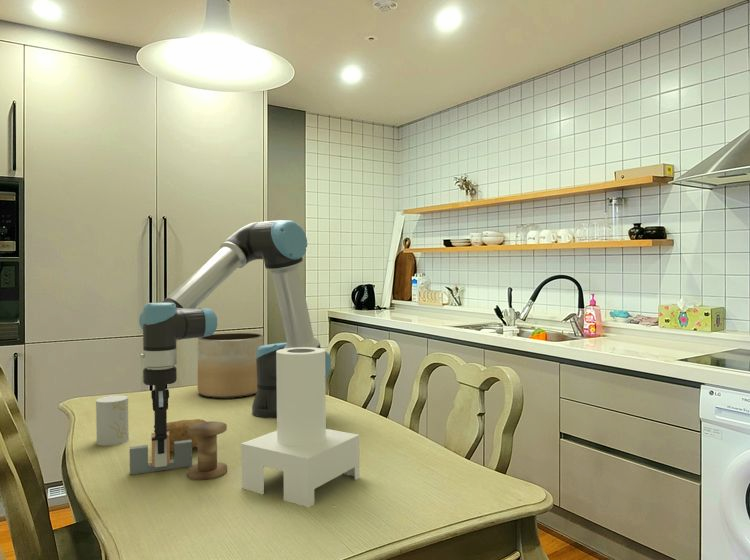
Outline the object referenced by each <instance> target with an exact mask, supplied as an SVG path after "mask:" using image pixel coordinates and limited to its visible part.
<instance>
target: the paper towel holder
mask: <svg viewBox="0 0 750 560" xmlns="http://www.w3.org/2000/svg"><path fill="white" fill-rule="evenodd" d="M325 351H326V349H325V348H323V347H321V348H313V347H296V348H285V349H280V350H277V351H276V375H277V417H276V430H275V431H271V432H268V433H266V434H264V435H261V436H258V437H256V438H253V439H249V440H247V441H245V442H241V444H240V450H241V452H240V453H241V455H240V456H241V459H240V460H241V465H240V466H241V489H242V488H243V489H242V490H245V489H247V491H249V490H251V491H250V492H252V491H254V492H253V493H256V492H258V493H257V494H259V493H261V494H260V495H263V494H264V495H265V491H264V490H265V489H264V487H265V486H264V483H265V482H264V481H265V480H264V479H265V477H264V473H265V472H264V467H265V468H270V469H275V470H279V471H282V472H283V501H284V500H286V501H285V502H287V501H289V502H288V503H291V502H293V503H292V504H294V503H296V504H295V505H298V504H300V505H299V506H302V505H304V506H303V507H305V506H308V507H307V508H310V507H311V505H312V504H313V505H315V489H317V488H319V487H321V486H323V485H324V484H327V483H328V482H330V481H331V480H333V479H335V478H337V477H339V476H342V475H346V474H349V475H348V476H350V475H353V476H352V477H354V480H355V479H356V480H358V479H359V477H360V475H361V474H360V468H361V467H360V434H357V433H351V432H346V431H341V430H335V429H331V428H326V427H327V426H326V425H327V424H326V421H327V418H326V415H327V414H326V412H327V410H326V407H327V406H326V405H327V404H326V401H327V400H326V380H325ZM343 473H344V474H343ZM357 478H358V479H357ZM360 478H361V477H360ZM313 505H312V506H313ZM309 506H310V507H309Z"/></svg>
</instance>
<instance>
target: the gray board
mask: <svg viewBox="0 0 750 560" xmlns="http://www.w3.org/2000/svg"><path fill="white" fill-rule="evenodd" d="M173 456H174V459H171V460H170V464H168V465H167V466H162V467H155V466H153V467H152V462H149V445H148V444H143V445H135V446H129V475H130V476H131V475H136V474H145V473H151V472H152V473H153V472H160V471H167V470H174V469H181V468H187V467H188V468H190V467H191V466H193V448H192V440H184V441H175V442H174V451H173Z"/></svg>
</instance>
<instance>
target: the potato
mask: <svg viewBox="0 0 750 560" xmlns="http://www.w3.org/2000/svg"><path fill="white" fill-rule="evenodd" d="M200 422H207V421H206V420H203V419H201V418H198V419H196V418H195V419H182V420H181V419H180V420H176V421H169V422H167V429H168V430H169V439H170V451H171V452H174V442H175V441H184V440H192V449H194V448H196V447H198V444H197V436H191V435H188V434H187V427H188V426H190V425H192V424H196V423H200Z"/></svg>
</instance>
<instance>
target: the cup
mask: <svg viewBox="0 0 750 560" xmlns="http://www.w3.org/2000/svg"><path fill="white" fill-rule="evenodd" d="M95 408H96V409H95V411H96V414H95V415H96V416H95V417H96V419H95V421H96V422H95V423H96V444H97V445H98V446H102V447H103V446H104V447H110V446H116V445H117V446H118V445H121V444H125V443H126V442H128V441H129V440H130V439H129V438H130V437H129V436H130V435H129V433H130V431H129V397H128V396H127V395H108V396H103V397H100V398H97V399H96V400H95Z"/></svg>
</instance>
